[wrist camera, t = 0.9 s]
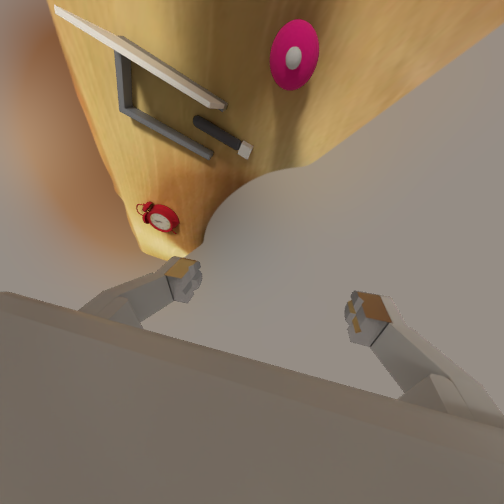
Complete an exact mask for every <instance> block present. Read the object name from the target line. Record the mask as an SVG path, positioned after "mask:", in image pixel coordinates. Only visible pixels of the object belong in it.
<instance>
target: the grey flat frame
mask: <svg viewBox="0 0 504 504" xmlns="http://www.w3.org/2000/svg"><path fill="white" fill-rule="evenodd" d="M116 36H117V35H116ZM118 37H119V38H121V39H122V40H124V41H125V42H127V43H129V44H130V45H132V46H133V47H135V48H136V49H138V50H140V51H141V52H143V53H144V54H146V55H147V56H149V57H151V58H152V59H154V60H155V61H157V62H158V63H160V64H162V65H163V66H165V67H166V68H168V69H170V70H171V71H173V72H174V73H176V74H177V75H179V76H181V77H182V78H184V79H185V80H187V81H188V82H190V83H192V84H193V85H195V86H196V87H198V88H199V89H201V90H203V91H204V92H206V93H207V94H209V95H210V96H212V97H214V98H215V99H217V100H218V101H220V102H221V103H223V104H225V105H224V108H223V109H219V110H220V111H222V112H223V111H225V110H226V108H227V105H228V103H227V102H225V101H224V100H222V99H221V98H219V97H217V96H216V95H214V94H213V93H211V92H210V91H208V90H206V89H205V88H203V87H202V86H200V85H199V84H197V83H196V82H194V81H192V80H191V79H189V78H188V77H186V76H185V75H183V74H181V73H180V72H178V71H177V70H175V69H174V68H172V67H171V66H169V65H167V64H166V63H164V62H163V61H161V60H160V59H158V58H157V57H155V56H153V55H152V54H150V53H149V52H147V51H146V50H144V49H142V48H141V47H139V46H138V45H136V44H135V43H133V42H132V41H130V40H128V39H127V38H125V37H124V36H118ZM114 54H115V66H116V77H117V89H118V100H119V111H120V112H122V113H124V114H126V115H127V116H129V117H131V118H133V119H135V120H136V121H138V122H140V123H142V124H144V125H146V126H147V127H149V128H151V129H153V130H155V131H157V132H158V133H160V134H162V135H164V136H166V137H167V138H169V139H171V140H173V141H175V142H177V143H178V144H180V145H182V146H184V147H186V148H188V149H189V150H191V151H193V152H195V153H197V154H198V155H200V156H202V157H204V158H206V159H208V160H210V159H211V157H212V156H213V153H214V152H213V151H212V150H210V149H208V148H206V147H204V146H203V145H201V144H199V143H197V142H196V141H194V140H192V139H190V138H188V137H187V136H185V135H183V134H181V133H180V132H178V131H176V130H174V129H172V128H171V127H169V126H167V125H165V124H164V123H162V122H160V121H158V120H156V119H155V118H153V117H151V116H149V115H148V114H146V113H144V112H142V111H140V110H139V109H137V108H135V107H133V106H132V81H131V60H130V59H128V58H127V57H125V56H123V55H122V54H120V53H119V52H117V51H115V50H114Z"/></svg>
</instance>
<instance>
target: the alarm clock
mask: <svg viewBox="0 0 504 504" xmlns="http://www.w3.org/2000/svg"><path fill="white" fill-rule="evenodd" d="M151 204H152V202H147V203H146V204H143V209H142V210H143V211H144V212H146V213H144V214H143V215H142V214H140V213H139V212H138V210H137V212H138V213H139V214H140V215H142V216H143V221H144V223H146V224H149V223H150V224H151V225H152V226H153V227H154V228H155V229H157V230H159V231H161V232H169V231H173V230H172V229H173V228H175V227H176V226H177V225H178V224H179V223H180V222H179V220H178V217H177V215H176V214H175V213H174V211H172V210H171V209H170V208H168V207H166V206H164V205H159V204H158V205H154V206H153V207H152V208H151V210H150V211H149V210H148V209H149V207H150V205H151ZM138 205H142V204H137V206H138ZM137 206H136V209H137ZM147 210H148V211H149V212H147ZM173 232H174V231H173ZM174 233H175V232H174ZM175 234H176V233H175Z"/></svg>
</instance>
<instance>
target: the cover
mask: <svg viewBox="0 0 504 504" xmlns="http://www.w3.org/2000/svg"><path fill="white" fill-rule="evenodd" d="M54 8H55V14H57V15H59V16H60V17H62V18H64V19H65V20H67V21H68V22H70V23H72V24H73V25H75V26H76V27H78V28H80V29H81V30H83V31H85V32H86V33H88V34H89V35H91V36H93V37H94V38H96V39H98V40H99V41H101V42H102V43H104V44H106V45H107V46H109V47H110V48H112V49H114V50H115V51H117V52H119V53H120V54H122V55H123V56H125V57H127V58H128V59H130V60H132V61H133V62H135V63H136V64H138V65H140V66H141V67H143V68H145V69H146V70H148V71H149V72H151V73H153V74H154V75H156V76H157V77H159V78H161V79H162V80H164V81H166V82H167V83H169V84H170V85H172V86H174V87H175V88H177V89H179V90H180V91H182V92H183V93H185V94H187V95H188V96H190V97H191V98H193V99H195V100H196V101H198V102H200V103H201V104H203V105H204V106H206V107H208V108H213V109H223V108H224V105H225V104H223V103H221V102H220V101H218V100H217V99H215V98H214V97H212V96H210V95H209V94H207V93H206V92H204V91H203V90H201V89H199V88H198V87H196V86H195V85H193V84H192V83H190V82H188V81H187V80H185V79H184V78H182V77H181V76H179V75H177V74H176V73H174V72H173V71H171V70H170V69H168V68H166V67H165V66H163V65H162V64H160V63H158V62H157V61H155V60H154V59H152V58H151V57H149V56H147V55H146V54H144V53H143V52H141V51H140V50H138V49H136V48H135V47H133V46H132V45H130V44H129V43H127V42H125V41H124V40H122V39H121V38H119V37H118V36H116V35H114V34H113V33H111V32H109V31H107V30H105V29H103V28H101V27H99V26H97V25H95V24H93V23H91V22H88V21H86V20H84V19H82V18H80V17H78V16H76V15H74V14H72V13H70V12H68V11H66V10H64V9H62V8H60V7H58V6H56V5H54Z"/></svg>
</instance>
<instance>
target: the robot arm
mask: <svg viewBox="0 0 504 504" xmlns="http://www.w3.org/2000/svg"><path fill="white" fill-rule="evenodd" d="M200 267H201V266H200V262H199V261H196V260H191V259H186V258H181V257H176V256H174V257H172V258H170V259H169V260H168V261H167V262H166V263H165V264H164V265H163V266H162V267H161V268H160V269H159V270H157V272H155V273H150V274H147V275H145V276H142V277H140V278H137V279H134V280H132V281H129V282H126V283H123V284H121V285H118V286H115V287H113V288H110V289H107V290H105V291H102V292H101V293H100V294H99V295H97V296H96V297H95V298H93V299H92V300H91V301H89V302H88V303H87V304H86V305H84V306H83V307H82V308H81V309H79V310H78V311H76V310H72V309H69V308H65V307H62V306H58V305H54V304H51V303H47V302H44V301H40V300H37V299H33V298H29V297H26V296H22V295H19V294H15V293H12V292H0V504H504V415H503V414H502V412H501V411H500V410H499V408H498V407H497V405H496V404H495V403H494V401H493V400H492V398H491V397H490V396H489V394H488V393H487V391H486V390H485V389H484V387H483V386H482V385H481V384H480V383H479V382H478V381H477V380H475V379H474V378H473V377H471V376H470V375H469V374H468V373H467V372H465V371H464V370H463V369H462V368H460V367H459V366H458V365H457V364H456V363H454V362H453V361H452V360H451V359H450V358H448V357H447V356H446V355H444V354H443V353H442V352H441V351H440V350H438V349H437V348H436V347H435V346H433V345H432V344H431V343H430V342H429V341H427V340H426V339H425V338H424V337H422V336H421V335H420V334H419V333H418V332H416V331H415V330H414V329H413V328H411V327H408V326H407V325H406V323H405V321H404V320H403V317H402V316H401V314H400V312H399V310H398V308H397V306H396V305H395V303H394V301H393V299H392V298H391V297H390V296H384V295H376V294H371V293H366V292H360V291H354V292H352V294H351V299H352V300H351V301H349V302H347V305H346V307H345V320H346V322H347V323H348V324H349V327H348V334H349V338H350V342H353V343H357V344H361V345H364V346H368V347H370V348H371V350H372V351H373V352H374V354H375V355H376V356H377V358H378V359H379V360H380V362H381V363H382V364H383V365H384V367H385V368H386V369H387V371H388V372H389V373H390V375H391V376H392V377H393V378H394V380H395V381H396V382H397V384H398V385H399V386H400V388H401V389H402V390H403V392H404V393H405V394H403V395H402V396H401V397H399V398H398V399H393V398H390V397H386V396H383V395H379V394H375V393H372V392H368V391H364V390H361V389H357V388H354V387H350V386H346V385H343V384H339V383H336V382H332V381H328V380H325V379H321V378H318V377H314V376H310V375H307V374H303V373H300V372H296V371H292V370H289V369H285V368H281V367H278V366H274V365H271V364H267V363H263V362H260V361H256V360H252V359H249V358H245V357H242V356H238V355H234V354H231V353H227V352H224V351H220V350H216V349H213V348H209V347H206V346H202V345H198V344H195V343H191V342H188V341H184V340H180V339H177V338H173V337H169V336H166V335H162V334H159V333H155V332H151V331H148V330H144V329H143V327H142V325H141V323H140V322H141V321H143V320H145V319H146V318H148V317H150V316H151V315H152V314H154V313H156V312H157V311H159V310H161V309H162V308H164V307H165V306H167V305H168V304H170V303H172V302H173V301H178V302H183V303H188V302H189V301H190V299H191V298H192V296H193V295H194V292H193V291H194V290H196V289H198V288H199V286H200V284H201V281H202V273H201V271H200V270H199V269H200Z"/></svg>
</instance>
